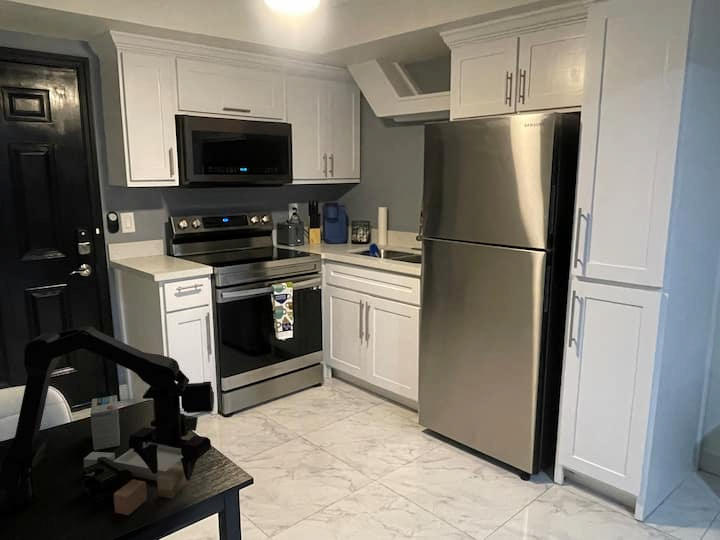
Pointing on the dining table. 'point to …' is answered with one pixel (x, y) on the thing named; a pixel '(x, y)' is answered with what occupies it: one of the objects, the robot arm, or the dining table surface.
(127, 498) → the terracotta block
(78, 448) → the dining table surface
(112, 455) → the pale blue block
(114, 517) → the dining table surface
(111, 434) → the light bulb box
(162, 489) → the maple block
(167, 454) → the tray
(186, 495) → the dining table surface
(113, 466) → the end cap
